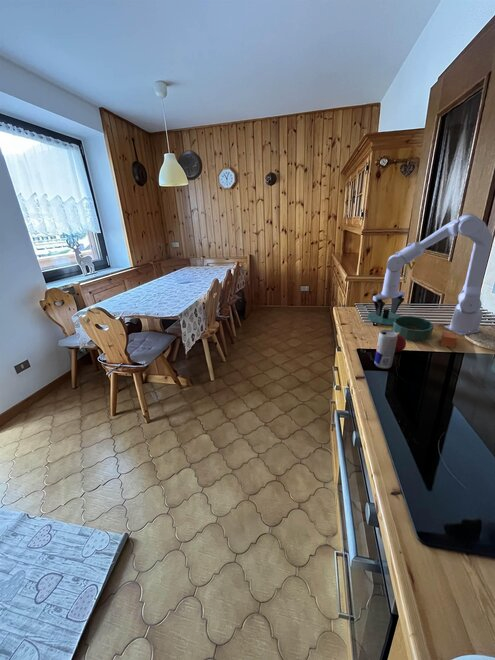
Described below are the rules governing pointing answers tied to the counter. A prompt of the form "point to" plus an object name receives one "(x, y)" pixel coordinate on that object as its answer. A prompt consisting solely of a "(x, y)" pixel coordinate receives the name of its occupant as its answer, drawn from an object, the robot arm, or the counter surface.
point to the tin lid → (383, 317)
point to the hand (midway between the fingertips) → (385, 313)
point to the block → (448, 339)
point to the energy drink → (385, 349)
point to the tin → (413, 322)
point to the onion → (400, 343)
